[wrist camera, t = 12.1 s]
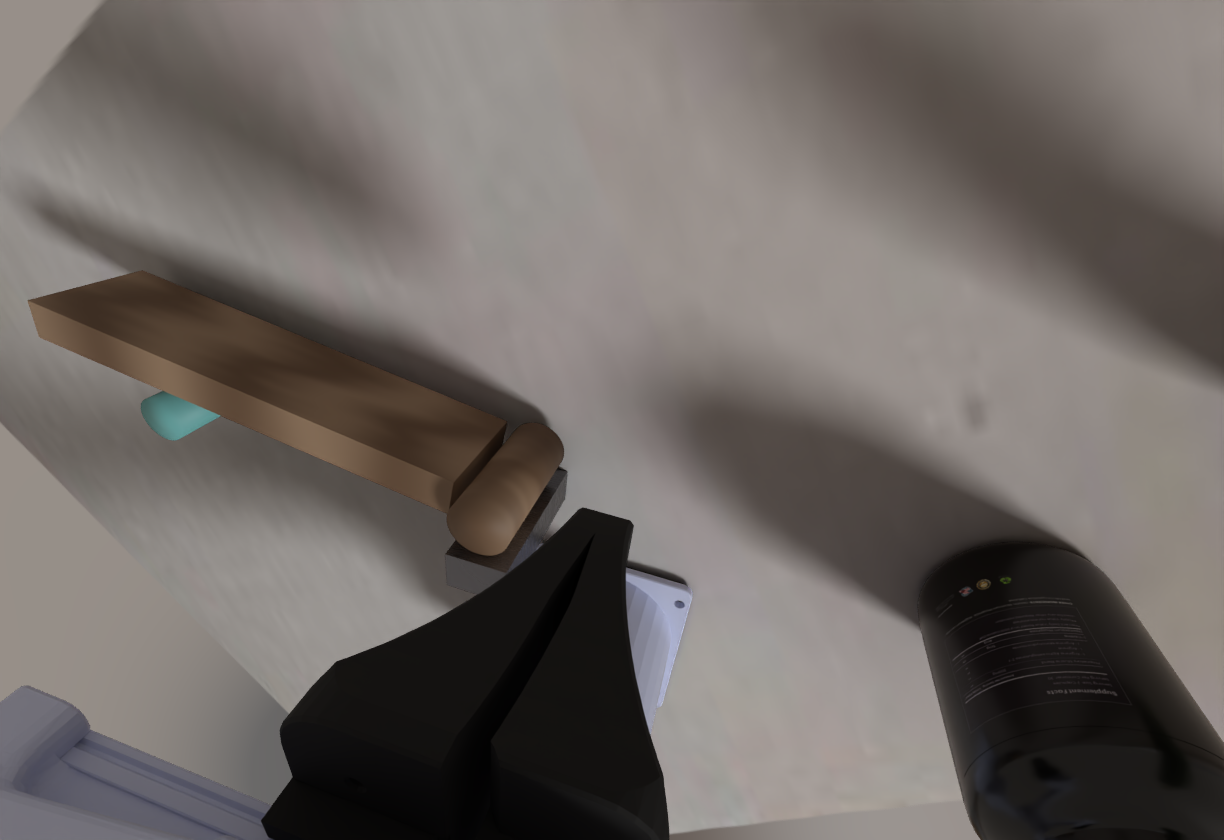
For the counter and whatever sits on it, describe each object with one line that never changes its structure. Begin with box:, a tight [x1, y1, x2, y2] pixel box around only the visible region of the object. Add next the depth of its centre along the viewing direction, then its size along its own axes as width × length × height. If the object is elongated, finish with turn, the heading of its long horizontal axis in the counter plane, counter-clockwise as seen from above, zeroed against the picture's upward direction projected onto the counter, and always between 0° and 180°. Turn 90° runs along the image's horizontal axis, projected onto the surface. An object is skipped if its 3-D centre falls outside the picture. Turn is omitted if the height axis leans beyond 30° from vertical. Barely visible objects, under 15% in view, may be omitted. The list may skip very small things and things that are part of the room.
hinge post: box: [445, 469, 567, 594], centre depth 23 cm, size 2×2×6 cm
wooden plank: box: [28, 270, 564, 556], centre depth 23 cm, size 21×2×6 cm, turn 73°
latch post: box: [141, 391, 220, 440], centre depth 25 cm, size 2×2×5 cm
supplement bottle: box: [918, 542, 1224, 840], centre depth 17 cm, size 7×7×12 cm
